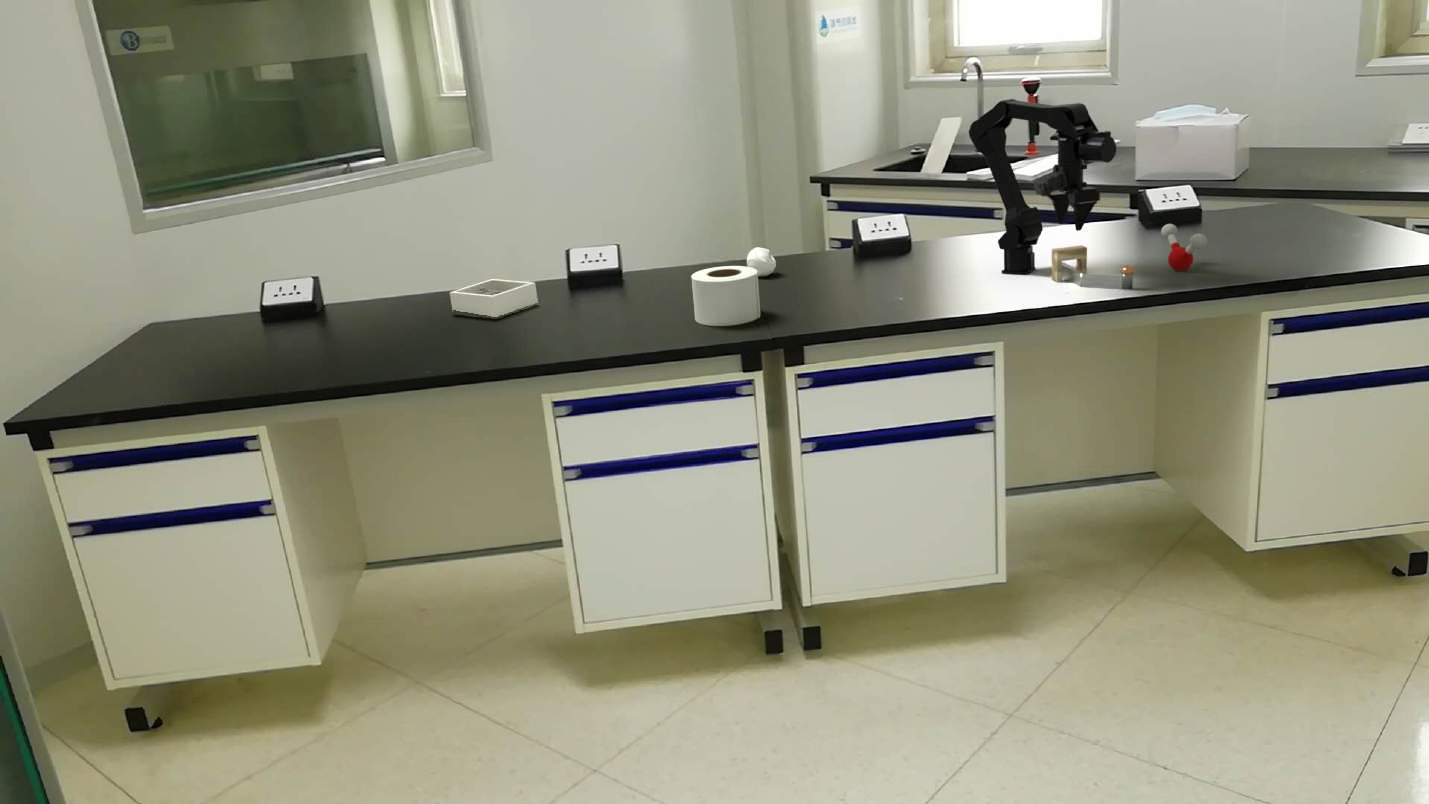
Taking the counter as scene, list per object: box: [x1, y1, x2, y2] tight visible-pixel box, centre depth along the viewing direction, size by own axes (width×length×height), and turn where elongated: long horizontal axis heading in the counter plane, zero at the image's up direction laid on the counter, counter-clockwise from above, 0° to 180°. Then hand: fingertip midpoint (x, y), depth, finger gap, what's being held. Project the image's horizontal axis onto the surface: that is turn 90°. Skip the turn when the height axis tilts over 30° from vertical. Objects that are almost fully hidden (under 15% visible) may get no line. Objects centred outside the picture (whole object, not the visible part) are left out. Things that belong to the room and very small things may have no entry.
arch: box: [1051, 245, 1088, 283], centre depth 276 cm, size 3×7×8 cm, turn 99°
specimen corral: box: [449, 278, 539, 317], centre depth 300 cm, size 16×15×6 cm
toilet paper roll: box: [690, 265, 761, 327], centre depth 271 cm, size 16×15×11 cm
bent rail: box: [1062, 261, 1135, 290], centre depth 271 cm, size 23×6×5 cm, turn 29°
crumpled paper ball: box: [746, 246, 777, 277], centre depth 309 cm, size 8×8×8 cm
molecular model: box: [1160, 223, 1208, 272], centre depth 274 cm, size 18×6×10 cm, turn 6°
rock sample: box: [477, 287, 502, 295], centre depth 299 cm, size 10×8×9 cm
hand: (1069, 227), depth 273 cm, fingers open, 9 cm apart
